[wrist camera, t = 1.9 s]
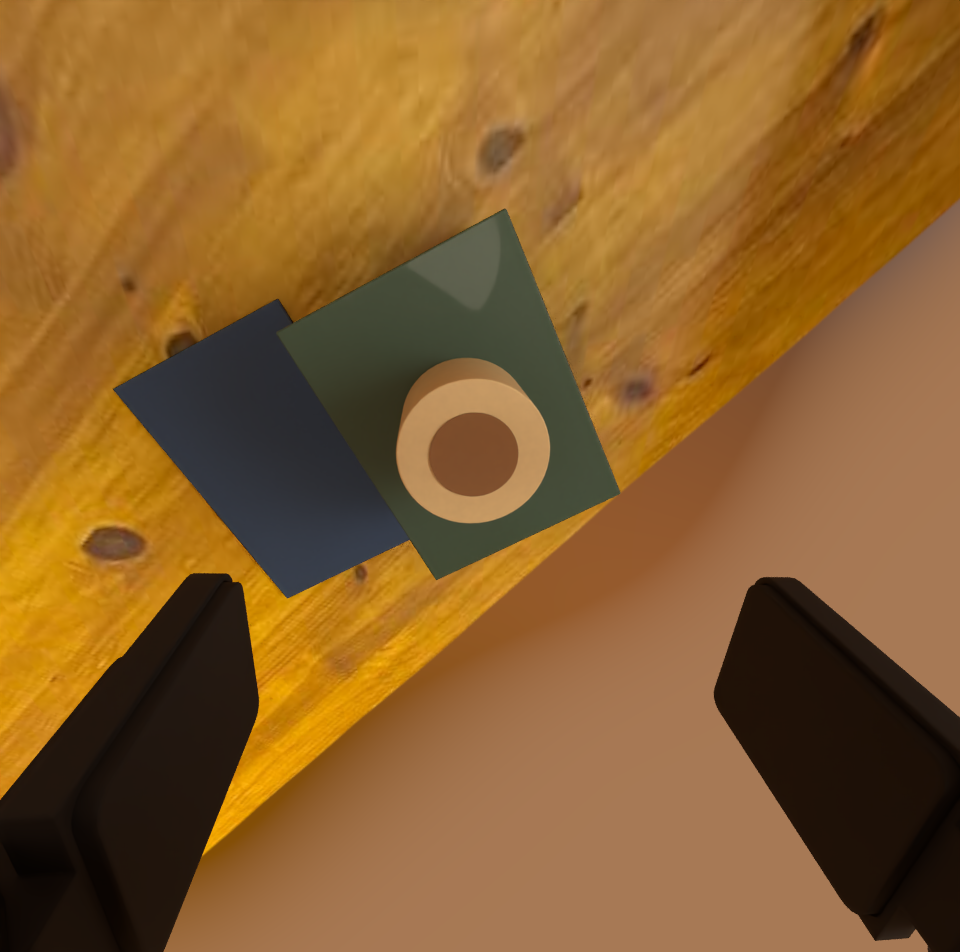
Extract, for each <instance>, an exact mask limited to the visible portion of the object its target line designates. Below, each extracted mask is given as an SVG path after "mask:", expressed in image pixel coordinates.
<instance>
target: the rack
mask: <svg viewBox="0 0 960 952" xmlns="http://www.w3.org/2000/svg"><path fill="white" fill-rule="evenodd" d="M276 334H277V336H278V337H279V339H280V341H281V342H282V344H283V345H284V347H285V348H286V350H287V351H288V353H289V354H290V356H291V357H292V359H293V361H294V362H295V364H296V365H297V367H298V368H299V370H300V371H301V373H302V374H303V376H304V377H305V379H306V381H307V382H308V384H309V385H310V387H311V388H312V390H313V391H314V393H315V394H316V396H317V397H318V399H319V401H320V402H321V404H322V405H323V407H324V408H325V410H326V411H327V413H328V414H329V416H330V418H331V419H332V421H333V422H334V424H335V425H336V427H337V428H338V430H339V431H340V433H341V434H342V436H343V438H344V439H345V441H346V442H347V444H348V445H349V447H350V448H351V450H352V451H353V453H354V454H355V456H356V458H357V459H358V461H359V462H360V464H361V465H362V467H363V468H364V470H365V471H366V473H367V474H368V476H369V478H370V479H371V481H372V482H373V484H374V485H375V487H376V488H377V490H378V491H379V493H380V495H381V496H382V498H383V499H384V501H385V502H386V504H387V505H388V507H389V508H390V510H391V511H392V513H393V515H394V516H395V518H396V519H397V521H398V522H399V524H400V525H401V527H402V528H403V530H404V531H405V533H406V535H407V536H408V538H409V539H410V541H411V542H412V544H413V545H414V547H415V548H416V550H417V551H418V553H419V555H420V556H421V558H422V559H423V561H424V562H425V564H426V565H427V567H428V568H429V570H430V572H431V573H432V575H433V576H434V578H435V579H436V580H438V579H440V578H442V577H444V576H446V575H448V574H451V573H453V572H455V571H457V570H459V569H461V568H463V567H465V566H468V565H470V564H472V563H474V562H476V561H478V560H480V559H482V558H485V557H487V556H489V555H491V554H493V553H495V552H497V551H500V550H502V549H504V548H506V547H508V546H510V545H512V544H514V543H517V542H519V541H521V540H523V539H525V538H527V537H529V536H531V535H534V534H536V533H538V532H540V531H542V530H544V529H546V528H549V527H551V526H553V525H555V524H557V523H559V522H561V521H563V520H566V519H568V518H570V517H572V516H574V515H576V514H578V513H580V512H583V511H585V510H587V509H589V508H591V507H593V506H595V505H597V504H600V503H602V502H604V501H606V500H608V499H610V498H612V497H615V496H617V495H619V494H620V490H619V488H618V485H617V483H616V480H615V478H614V475H613V473H612V470H611V468H610V465H609V463H608V461H607V458H606V456H605V453H604V451H603V448H602V446H601V443H600V441H599V438H598V436H597V433H596V431H595V428H594V426H593V423H592V421H591V418H590V416H589V413H588V411H587V408H586V406H585V403H584V401H583V398H582V396H581V393H580V391H579V388H578V386H577V384H576V381H575V379H574V376H573V374H572V371H571V369H570V366H569V364H568V361H567V359H566V356H565V354H564V351H563V349H562V346H561V344H560V341H559V339H558V336H557V334H556V331H555V329H554V326H553V324H552V321H551V319H550V316H549V314H548V311H547V309H546V307H545V304H544V302H543V299H542V297H541V294H540V292H539V289H538V287H537V284H536V282H535V279H534V277H533V274H532V272H531V269H530V267H529V264H528V262H527V259H526V257H525V254H524V252H523V249H522V247H521V244H520V242H519V239H518V237H517V234H516V232H515V230H514V227H513V225H512V222H511V220H510V217H509V215H508V212H507V210H506V209H503V210H501V211H499V212H497V213H495V214H494V215H492V216H490V217H488V218H486V219H484V220H482V221H481V222H479V223H477V224H475V225H473V226H471V227H470V228H468V229H466V230H464V231H462V232H460V233H458V234H457V235H455V236H453V237H451V238H449V239H447V240H445V241H444V242H442V243H440V244H438V245H436V246H434V247H433V248H431V249H429V250H427V251H425V252H423V253H421V254H420V255H418V256H416V257H414V258H412V259H410V260H409V261H407V262H405V263H403V264H401V265H399V266H397V267H396V268H394V269H392V270H390V271H388V272H386V273H385V274H383V275H381V276H379V277H377V278H375V279H373V280H372V281H370V282H368V283H366V284H364V285H362V286H361V287H359V288H357V289H355V290H353V291H351V292H349V293H348V294H346V295H344V296H342V297H340V298H338V299H336V300H335V301H333V302H331V303H329V304H327V305H325V306H324V307H322V308H320V309H318V310H316V311H314V312H312V313H311V314H309V315H307V316H305V317H303V318H301V319H300V320H298V321H296V322H294V323H292V324H290V325H288V326H287V327H285V328H283V329H281V330H279V331H277V332H276ZM457 358H476V359H481V360H485V361H488V362H491V363H493V364H495V365H497V366H499V367H500V368H502V369H504V370H505V371H506V372H507V373H509V374H510V375H511V376H512V377H513V378H514V379H515V381H516V382H517V383H518V385H519V386H520V387H521V388H522V390H523V391H524V392H525V394H526V395H527V396H528V397H529V399H530V400H531V401H532V403H533V404H534V405H535V407H536V408H537V409H538V411H539V412H540V414H541V416H542V418H543V419H544V422H545V424H546V427H547V430H548V435H549V441H550V456H549V462H548V467H547V470H546V473H545V476H544V478H543V480H542V482H541V484H540V485H539V487H538V488H537V490H536V491H535V493H534V494H533V495H532V496H531V497H530V498H529V499H528V500H527V501H526V502H525V503H524V504H523V505H522V506H520V507H519V508H518V509H516V510H515V511H513V512H511V513H509V514H508V515H506V516H503V517H501V518H498V519H495V520H492V521H488V522H482V523H459V522H454V521H450V520H447V519H443V518H441V517H439V516H436V515H434V514H432V513H431V512H429V511H428V510H426V509H425V508H423V507H422V506H421V505H420V504H419V503H417V502H416V500H415V499H414V498H413V497H412V496H411V495H410V493H409V492H408V491H407V489H406V488H405V486H404V484H403V482H402V480H401V477H400V474H399V472H398V467H397V462H396V444H397V438H398V433H399V427H400V422H401V416H402V411H403V406H404V402H405V400H406V397H407V395H408V393H409V391H410V389H411V387H412V386H413V385H414V383H415V382H416V381H417V380H418V378H419V377H420V376H421V375H422V374H424V373H425V372H426V371H427V370H429V369H430V368H432V367H434V366H435V365H437V364H440V363H442V362H444V361H448V360H451V359H457Z"/></svg>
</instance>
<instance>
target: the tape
mask: <svg viewBox="0 0 960 952" xmlns="http://www.w3.org/2000/svg"><path fill="white" fill-rule="evenodd" d="M549 456H550V441H549V435H548V430H547V427H546V424H545V422H544V419H543V418H542V416H541V414H540V412H539V411H538V409H537V408H536V407H535V405H534V404H533V403H532V401H531V400H530V399H529V397H528V396H527V395H526V394H525V392H524V391H523V390H522V388H521V387H520V386H519V385H518V383H517V382H516V381H515V379H514V378H513V377H512V376H511V375H510V374H509V373H507V372H506V371H505V370H504V369H502V368H500V367H499V366H497V365H495V364H493V363H491V362H488V361H485V360H481V359H476V358H457V359H451V360H448V361H444V362H442V363H440V364H437V365H435V366H434V367H432V368H430V369H429V370H427V371H426V372H425V373H424V374H422V375H421V376H420V377H419V378H418V380H417V381H416V382H415V383H414V385H413V386H412V387H411V389H410V391H409V393H408V395H407V397H406V400H405V402H404V406H403V411H402V416H401V422H400V427H399V433H398V438H397V444H396V462H397V467H398V472H399V474H400V477H401V480H402V482H403V484H404V486H405V488H406V489H407V491H408V492H409V493H410V495H411V496H412V497H413V498H414V499H415V500H416V502H417V503H419V504H420V505H421V506H422V507H423V508H425V509H426V510H428V511H429V512H431V513H432V514H434V515H436V516H439V517H441V518H443V519H447V520H450V521H454V522H459V523H482V522H488V521H492V520H495V519H498V518H501V517H503V516H506V515H508V514H509V513H511V512H513V511H515V510H516V509H518V508H519V507H520V506H522V505H523V504H524V503H525V502H526V501H527V500H528V499H529V498H530V497H531V496H532V495H533V494H534V493H535V491H536V490H537V488H538V487H539V485H540V484H541V482H542V480H543V478H544V476H545V473H546V470H547V467H548V462H549Z"/></svg>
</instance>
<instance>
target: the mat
mask: <svg viewBox="0 0 960 952" xmlns="http://www.w3.org/2000/svg"><path fill="white" fill-rule="evenodd" d="M292 323H293V322H292V320H291V319H290V317H289V316H288V314H287V312H286V311H285V309H284V308H283V306H282V304H281V303H280V301H279V300H278V299H276V300H275V301H273V302H271V303H269V304H267V305H265V306H264V307H262V308H260V309H258V310H256V311H254V312H253V313H251V314H249V315H247V316H245V317H244V318H242V319H240V320H238V321H236V322H234V323H233V324H231V325H229V326H227V327H225V328H223V329H222V330H220V331H218V332H216V333H214V334H213V335H211V336H209V337H207V338H205V339H203V340H202V341H200V342H198V343H196V344H194V345H192V346H191V347H189V348H187V349H185V350H183V351H182V352H180V353H178V354H176V355H174V356H172V357H171V358H169V359H167V360H165V361H163V362H161V363H160V364H158V365H156V366H154V367H152V368H151V369H149V370H147V371H145V372H143V373H141V374H140V375H138V376H136V377H134V378H132V379H130V380H129V381H127V382H125V383H123V384H121V385H120V386H118V387H116V388H114V389H113V390H114V391H115V392H116V393H117V395H118V396H119V397H120V398H121V399H122V401H123V402H124V403H125V404H126V405H127V407H128V408H129V409H130V410H131V411H132V413H133V414H134V415H135V416H136V417H137V419H138V420H139V421H140V422H141V423H142V425H143V426H144V427H145V428H146V429H147V431H148V432H149V433H150V434H151V435H152V437H153V438H154V439H155V440H156V441H157V443H158V444H159V445H160V446H161V447H162V449H163V450H164V451H165V452H166V453H167V455H168V456H169V457H170V458H171V459H172V461H173V462H174V463H175V464H176V465H177V467H178V468H179V469H180V470H181V471H182V473H183V474H184V475H185V476H186V477H187V479H188V480H189V481H190V482H191V483H192V485H193V486H194V487H195V488H196V489H197V491H198V492H199V493H200V494H201V495H202V497H203V498H204V499H205V500H206V501H207V503H208V504H209V505H210V506H211V507H212V509H213V510H214V511H215V512H216V513H217V515H218V516H219V517H220V518H221V519H222V521H223V522H224V523H225V524H226V525H227V527H228V528H229V529H230V530H231V531H232V533H233V534H234V535H235V536H236V537H237V539H238V540H239V541H240V542H241V543H242V545H243V546H244V547H245V548H246V549H247V551H248V552H249V553H250V554H251V555H252V557H253V558H254V559H255V560H256V561H257V563H258V564H259V565H260V566H261V567H262V569H263V570H264V571H265V572H266V573H267V575H268V576H269V577H270V578H271V579H272V581H273V582H274V583H275V584H276V585H277V587H278V588H279V589H280V590H281V591H282V593H283V594H284V595H285V596H286V597H287V598H289V597H291V596H293V595H296V594H298V593H300V592H302V591H304V590H306V589H308V588H310V587H312V586H314V585H316V584H318V583H320V582H323V581H325V580H327V579H329V578H331V577H333V576H335V575H337V574H339V573H341V572H343V571H345V570H348V569H350V568H352V567H354V566H356V565H358V564H360V563H362V562H364V561H366V560H368V559H370V558H372V557H375V556H377V555H379V554H381V553H383V552H385V551H387V550H389V549H391V548H393V547H395V546H397V545H399V544H402V543H404V542H406V541H408V540H410V539H409V538H408V536H407V535H406V533H405V531H404V530H403V528H402V527H401V525H400V524H399V522H398V521H397V519H396V518H395V516H394V515H393V513H392V511H391V510H390V508H389V507H388V505H387V504H386V502H385V501H384V499H383V498H382V496H381V495H380V493H379V491H378V490H377V488H376V487H375V485H374V484H373V482H372V481H371V479H370V478H369V476H368V474H367V473H366V471H365V470H364V468H363V467H362V465H361V464H360V462H359V461H358V459H357V458H356V456H355V454H354V453H353V451H352V450H351V448H350V447H349V445H348V444H347V442H346V441H345V439H344V438H343V436H342V434H341V433H340V431H339V430H338V428H337V427H336V425H335V424H334V422H333V421H332V419H331V418H330V416H329V414H328V413H327V411H326V410H325V408H324V407H323V405H322V404H321V402H320V401H319V399H318V397H317V396H316V394H315V393H314V391H313V390H312V388H311V387H310V385H309V384H308V382H307V381H306V379H305V377H304V376H303V374H302V373H301V371H300V370H299V368H298V367H297V365H296V364H295V362H294V361H293V359H292V357H291V356H290V354H289V353H288V351H287V350H286V348H285V347H284V345H283V344H282V342H281V341H280V339H279V337H278V336H277V334H276V332H277V331H279V330H281V329H283V328H285V327H287V326H288V325H290V324H292Z"/></svg>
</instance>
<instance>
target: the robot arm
mask: <svg viewBox="0 0 960 952" xmlns="http://www.w3.org/2000/svg"><path fill="white" fill-rule="evenodd" d="M714 699H715V703H716V706H717V708H718V710H719V712H720V713H721V715H722V716H723V718H724V719H725V721H726V723H727V724H728V726H729V727H730V729H731V730H732V732H733V733H734V735H735V736H736V738H737V739H738V741H739V743H740V744H741V745H742V747H743V749H744V750H745V752H746V753H747V755H748V756H749V758H750V759H751V761H752V763H753V764H754V766H755V767H756V769H757V770H758V772H759V773H760V775H761V776H762V778H763V780H764V781H765V783H766V784H767V786H768V787H769V789H770V791H771V792H772V794H773V795H774V797H775V798H776V800H777V801H778V803H779V804H780V806H781V808H782V809H783V810H784V812H785V814H786V815H787V817H788V818H789V820H790V821H791V823H792V824H793V826H794V828H795V829H796V831H797V832H798V834H799V835H800V837H801V838H802V840H803V842H804V843H805V845H806V846H807V848H808V849H809V851H810V852H811V854H812V855H813V857H814V859H815V860H816V861H817V863H818V865H819V866H820V868H821V869H822V871H823V872H824V874H825V875H826V877H827V879H828V880H829V881H830V883H831V885H832V886H833V888H834V889H835V891H836V893H837V894H838V896H839V897H840V899H841V900H842V901H843V903H844V904H845V905H846V906H847V907H848V908H849V909H850V910H851V911H852V912H854V913H856V914H858V915H859V917H860V919H861V920H862V922H863V923H864V925H865V926H866V928H867V929H868V931H869V932H870V934H871V935H872V937H873V938H874V940H875V941H877V940H890V939H902V938H909V937H910V936H911V934H912V933H913V932H914V930H915V929H916V930H917V931H918V932H919V934H920V935H921V937H922V938H923V939H924V941H925V942H926V943H927V945H928V952H960V717H959V716H957V715H956V714H955V713H954V712H953V711H951V710H950V709H949V708H948V707H947V706H946V705H945V704H943V703H942V702H941V701H940V700H939V699H937V698H936V697H935V696H934V695H932V693H930V692H929V691H928V690H927V689H926V688H925V687H923V686H922V685H921V684H920V683H919V682H917V681H916V680H915V679H914V678H913V677H912V676H910V675H909V674H908V673H907V672H906V671H905V670H903V669H902V668H901V667H900V666H899V665H897V664H896V663H895V662H894V661H893V660H892V659H890V658H889V657H888V656H887V655H886V654H884V653H883V652H882V651H881V650H880V649H879V648H877V647H876V646H875V645H874V644H873V643H872V642H870V641H869V640H868V639H867V638H866V637H864V636H863V635H862V634H861V633H860V632H859V631H857V630H856V629H855V628H854V627H853V626H852V625H850V624H849V623H848V622H847V621H846V620H845V619H843V618H842V617H841V616H840V615H839V614H837V613H836V612H835V611H834V610H833V609H832V608H830V607H829V606H828V605H827V604H825V603H824V602H823V601H822V600H821V599H820V598H818V597H817V596H816V595H815V594H814V593H812V591H810V590H809V589H808V588H807V587H806V586H805V585H803V584H802V583H801V582H800V581H798V580H796V579H795V578H790V577H789V578H788V577H785V578H784V577H763V578H760V579H759V580H757V581H756V583H755V585H752V586H751V587H750V588H749V589H748V591H747V594H746V597H745V599H744V602H743V605H742V608H741V611H740V614H739V617H738V621H737V623H736V626H735V629H734V632H733V635H732V638H731V641H730V644H729V647H728V650H727V653H726V656H725V659H724V662H723V665H722V668H721V671H720V673H719V677H718V679H717V683H716V685H715V689H714ZM258 707H259V695H258V688H257V681H256V675H255V668H254V661H253V654H252V647H251V640H250V633H249V627H248V620H247V613H246V606H245V599H244V592H243V587H242V585H241V583H239V582H232V578H231V577H230V575H228V574H209V573H194V574H190V575H189V576H188V577H187V578H186V579H185V580H184V581H183V582H182V584H181V585H180V586H179V587H178V589H177V590H176V591H175V592H174V594H173V595H172V596H171V597H170V599H169V600H168V601H167V602H166V604H165V605H164V606H163V607H162V608H161V610H160V611H159V612H158V613H157V615H156V616H155V617H154V618H153V620H152V621H151V622H150V623H149V625H148V626H147V627H146V628H145V630H144V631H143V632H142V633H141V634H140V636H139V637H138V638H137V639H136V641H135V642H134V643H133V644H132V646H131V647H130V648H129V649H128V651H127V652H126V653H125V654H124V656H122V657H120V658H118V659H117V660H116V661H115V662H114V663H113V664H112V665H111V666H110V667H109V668H108V669H107V670H106V672H105V673H104V674H103V675H102V677H101V678H100V679H99V680H98V681H97V683H96V684H95V685H94V686H93V688H92V689H91V690H90V691H89V692H88V694H87V695H86V696H85V697H84V698H83V700H82V701H81V702H80V703H79V705H78V706H77V707H76V708H75V709H74V711H73V712H72V713H71V714H70V716H69V717H68V718H67V719H66V720H65V722H64V723H63V724H62V725H61V727H60V728H59V729H58V730H57V731H56V733H55V734H54V735H53V736H52V738H51V739H50V740H49V741H48V742H47V744H46V745H45V746H44V747H43V748H42V750H41V751H40V752H39V753H38V755H37V756H36V757H35V758H34V759H33V761H32V762H31V763H30V764H29V766H28V767H27V768H26V769H25V770H24V772H23V773H22V774H21V775H20V777H19V778H18V779H17V780H16V781H15V783H14V784H13V785H12V786H11V787H10V789H9V790H8V791H7V792H6V794H5V795H4V796H3V797H2V798H1V800H0V952H163V951H164V949H165V947H166V944H167V942H168V939H169V937H170V934H171V932H172V929H173V927H174V924H175V922H176V919H177V917H178V914H179V912H180V909H181V907H182V904H183V901H184V899H185V896H186V894H187V892H188V889H189V887H190V884H191V882H192V879H193V876H194V874H195V871H196V869H197V866H198V863H199V861H200V859H201V856H202V854H203V851H204V849H205V846H206V844H207V841H208V839H209V836H210V834H211V831H212V829H213V826H214V824H215V821H216V819H217V816H218V814H219V811H220V809H221V806H222V804H223V801H224V799H225V796H226V794H227V791H228V788H229V786H230V783H231V781H232V778H233V776H234V773H235V771H236V768H237V766H238V763H239V761H240V758H241V756H242V753H243V751H244V748H245V746H246V743H247V741H248V738H249V736H250V733H251V731H252V728H253V726H254V723H255V720H256V717H257V713H258Z"/></svg>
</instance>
